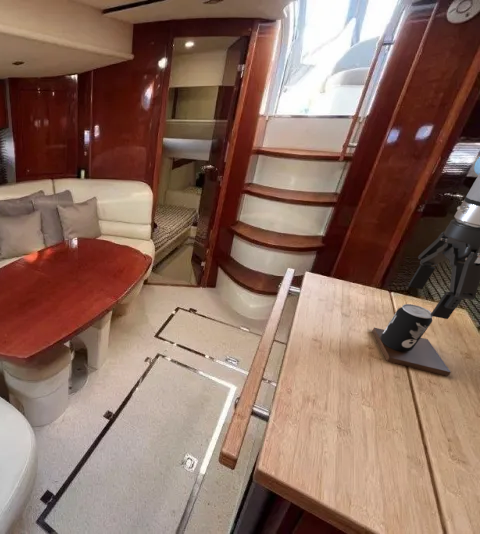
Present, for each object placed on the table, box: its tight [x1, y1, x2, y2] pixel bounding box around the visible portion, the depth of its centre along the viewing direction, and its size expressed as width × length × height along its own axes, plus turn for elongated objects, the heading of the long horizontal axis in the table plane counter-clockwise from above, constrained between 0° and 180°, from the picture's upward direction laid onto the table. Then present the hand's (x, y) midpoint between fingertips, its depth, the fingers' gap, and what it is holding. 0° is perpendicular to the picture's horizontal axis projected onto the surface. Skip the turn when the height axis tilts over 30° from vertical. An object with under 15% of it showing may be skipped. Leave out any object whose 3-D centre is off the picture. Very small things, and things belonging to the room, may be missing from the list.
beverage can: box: [381, 303, 434, 352], centre depth 82 cm, size 7×7×12 cm
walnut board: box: [371, 327, 452, 377], centre depth 84 cm, size 12×13×2 cm
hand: (426, 301), depth 77 cm, fingers open, 13 cm apart
